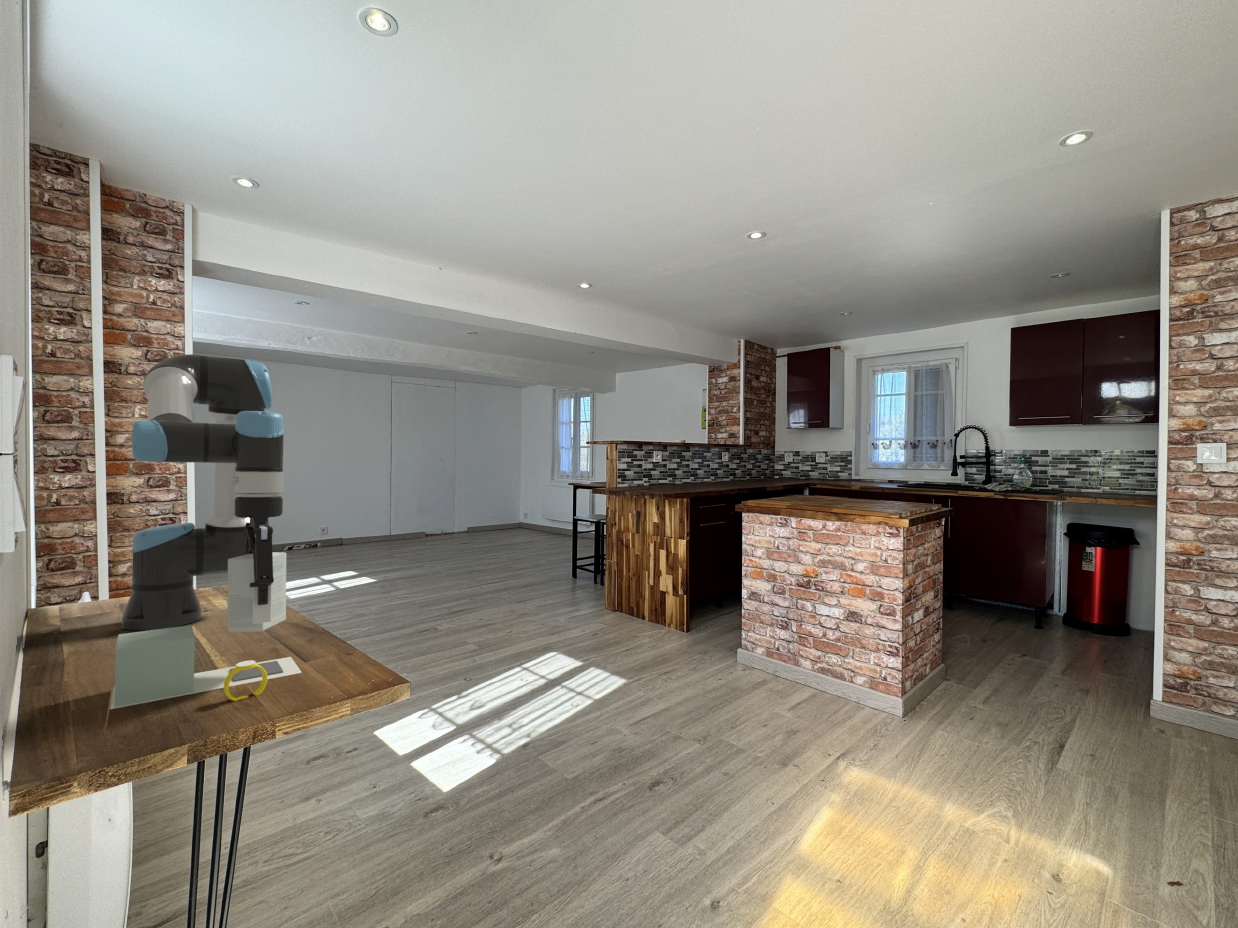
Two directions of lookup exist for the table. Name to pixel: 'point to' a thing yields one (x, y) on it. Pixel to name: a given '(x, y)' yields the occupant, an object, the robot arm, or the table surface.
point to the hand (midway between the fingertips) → (257, 616)
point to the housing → (154, 664)
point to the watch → (245, 666)
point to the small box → (243, 593)
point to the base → (234, 677)
